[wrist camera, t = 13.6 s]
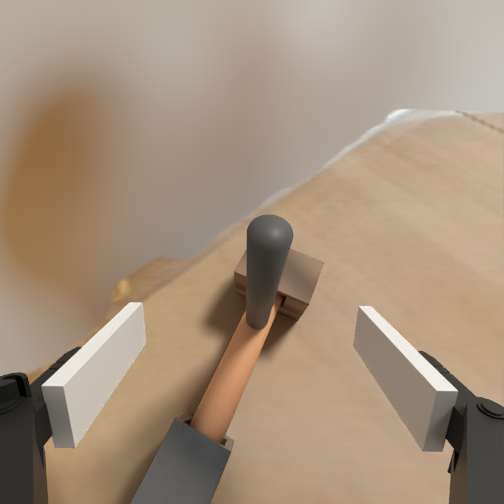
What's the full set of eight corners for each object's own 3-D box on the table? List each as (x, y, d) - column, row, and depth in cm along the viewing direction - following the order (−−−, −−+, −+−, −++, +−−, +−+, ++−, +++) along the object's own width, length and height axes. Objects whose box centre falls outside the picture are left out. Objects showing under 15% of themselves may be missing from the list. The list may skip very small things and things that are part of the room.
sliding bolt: (202, 488, 20) (86, 732, 5) (171, 467, 21) (-13, 635, 6) (287, 287, 29) (332, 170, 14) (263, 277, 30) (282, 154, 15)
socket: (297, 320, 29) (309, 303, 24) (235, 292, 30) (234, 271, 26) (311, 284, 31) (324, 262, 26) (253, 259, 33) (254, 234, 28)
